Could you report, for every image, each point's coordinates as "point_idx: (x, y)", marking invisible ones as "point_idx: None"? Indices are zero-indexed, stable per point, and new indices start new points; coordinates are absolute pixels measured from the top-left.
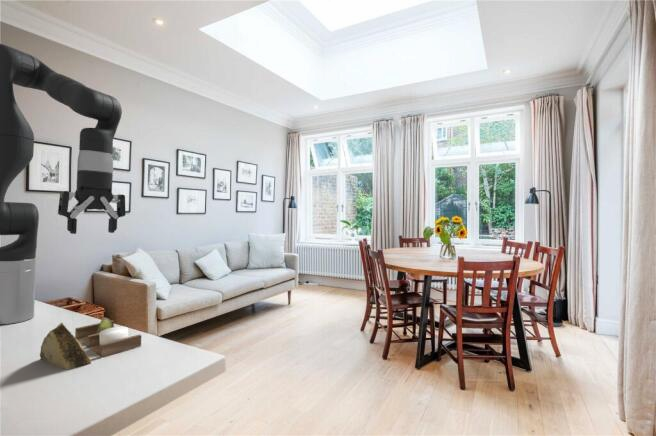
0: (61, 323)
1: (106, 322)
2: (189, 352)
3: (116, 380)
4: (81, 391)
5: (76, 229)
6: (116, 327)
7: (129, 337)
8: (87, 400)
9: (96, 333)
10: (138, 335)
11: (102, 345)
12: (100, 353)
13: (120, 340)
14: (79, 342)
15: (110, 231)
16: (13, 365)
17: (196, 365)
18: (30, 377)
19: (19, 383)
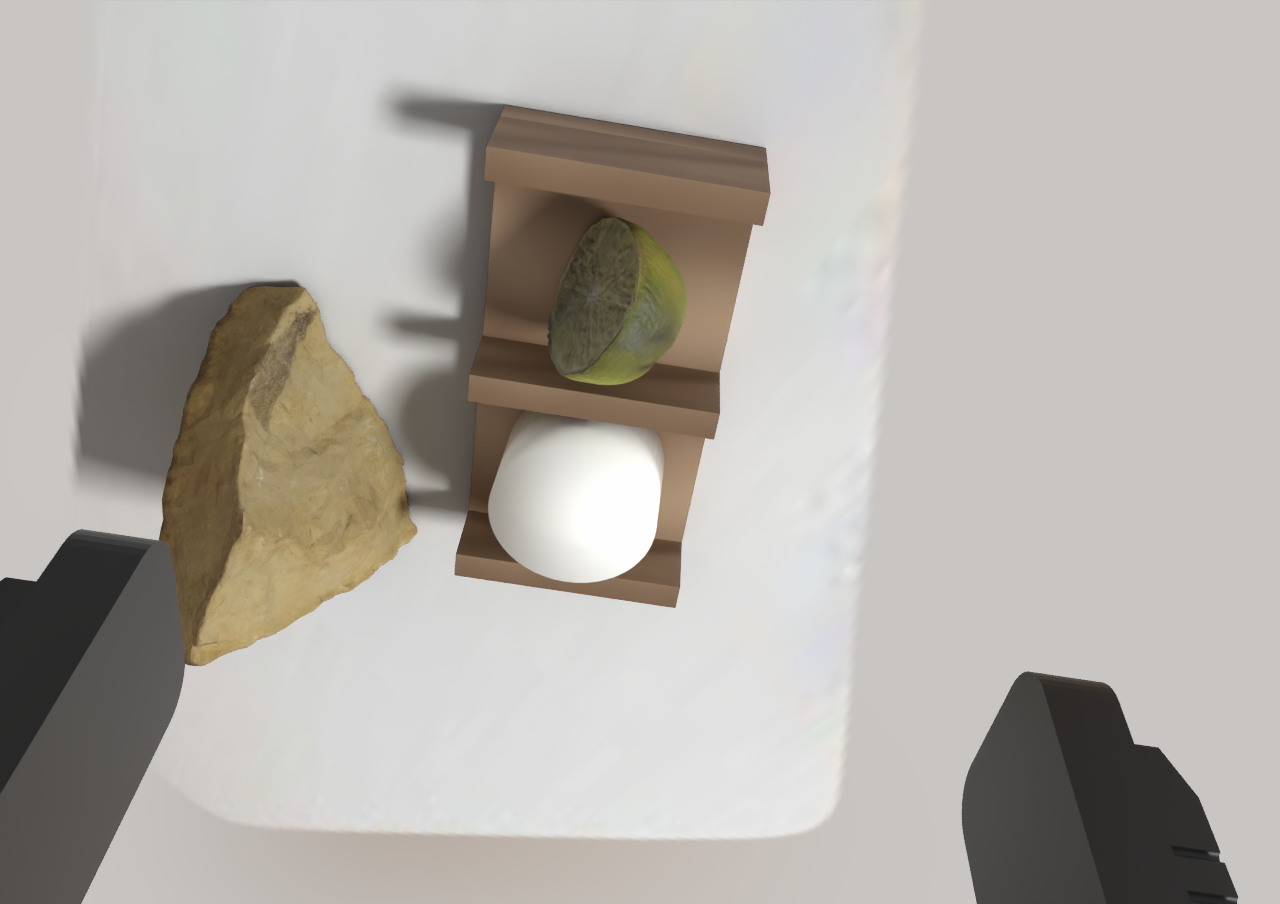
0: (196, 637)
1: (610, 384)
2: (794, 727)
3: (427, 694)
4: (299, 668)
5: (145, 770)
6: (618, 478)
7: (614, 584)
8: (293, 729)
9: (554, 330)
10: (665, 596)
11: (456, 572)
12: (466, 520)
13: (556, 584)
14: (341, 552)
15: (988, 774)
16: (125, 184)
17: (705, 818)
18: (174, 408)
19: (127, 430)
